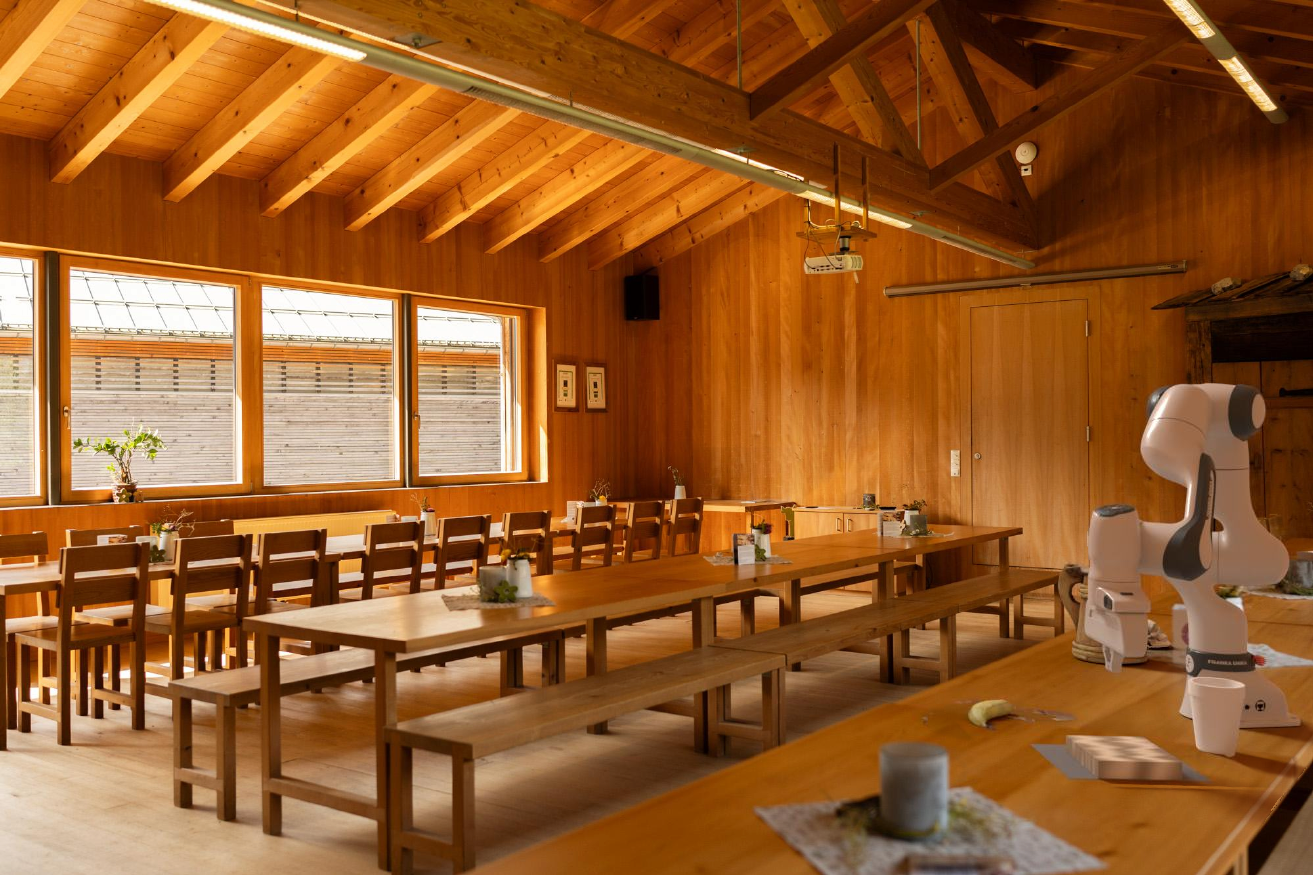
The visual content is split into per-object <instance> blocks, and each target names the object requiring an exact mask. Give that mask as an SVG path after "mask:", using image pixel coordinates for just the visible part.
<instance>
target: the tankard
mask: <svg viewBox="0 0 1313 875" xmlns="http://www.w3.org/2000/svg"><path fill="white" fill-rule="evenodd" d="M1089 571H1090V565H1089V566H1088V565H1082V564H1079V563H1073V562H1071V561H1066V562H1065V563H1064V566H1063V568H1062V570H1061V571H1060V574H1059V576H1058V582H1057V583H1058V585H1057V588H1058V594H1059V597H1060V600H1061V602H1062V604H1063V606H1064V609H1065V610H1066V611H1067V613H1068V615H1069V616H1070V618H1071V620H1072V623H1073V626H1074V628H1075V637H1076V638H1075V639H1074V640H1073V641H1072V647H1071V648H1072V649H1071V653H1072V655H1073V656H1074V658H1076V659H1077V660H1080V661H1084V662H1090V663H1100V664H1105V657H1104V653H1103V644H1101V643H1099V642H1098V641H1096V640H1094V639H1092V638H1090V637H1088V636H1087V635H1086V633H1085V611H1086V603H1087V600H1088V574H1089ZM1077 584H1079V588H1078V590H1077V593H1078V595H1079V596H1080V598H1081V600H1080V602H1079V601H1078V600H1076V598H1075V597H1074V595H1073V588H1074V587H1075V586H1076V585H1077ZM1148 660H1149V657H1148V651H1147V650H1146V652H1145V655H1144V656H1143V657H1126V656H1125V657H1124V659H1123V662H1122V665H1129V664H1130V665H1131V664H1132V665H1133V664H1139V663H1144V662H1147V661H1148Z"/></svg>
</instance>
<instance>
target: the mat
mask: <svg viewBox="0 0 1313 875" xmlns="http://www.w3.org/2000/svg"><path fill="white" fill-rule="evenodd" d="M1029 745H1030V746H1032V748H1034V749H1035V750H1036V751H1037V752H1038V753H1039V754H1040V755H1042V756H1043V757H1044V758H1045V759H1046V760H1047V761H1048V762H1049V763H1051V764H1052V765H1053V766H1054V768H1056V769H1057V770H1058V771H1059V772H1060V773H1061V774H1063V775H1064V776H1065V777H1067V779H1068V780H1069V779H1071V780H1105V781H1106V780H1108V781H1109V780H1110V781H1113V780H1115V781H1153V782H1154V781H1156V782H1194V783H1195V782H1197V783H1200V782H1203V783H1204V782H1205V783H1213V780H1211V779H1209V778H1208V777H1207V776H1205V775H1203V774H1201V773H1200V772H1199V771H1197V770H1195V769H1194V768H1193V767H1191V766H1189V765H1188V764H1186V763H1184V762H1183V761H1182V760H1180V759H1179V758H1178V757H1176V756H1174V755H1172V753H1169V752H1168V751H1166V750H1165V749H1163V748H1162V747H1161V746H1158V747H1159V748H1161V749H1162V750H1164V751H1165V752H1167V753H1168V754H1170V755H1171V756H1173V757H1175V758H1176V759H1178V760H1179V761H1181V762H1182V780H1150V779H1103V778H1097V777H1096V776H1095V775H1093V774H1092V773H1091V772H1090V771H1089V770H1087V769H1086V768H1085V767H1084V766H1083V765H1081V764H1080V763H1079V762H1078V761H1076V760H1075V759H1074V758H1073V757H1072V756H1070V755H1069V754H1068V753H1067V752H1066V744H1049V743H1048V744H1046V743H1045V744H1044V743H1043V744H1041V743H1039V744H1038V743H1030V744H1029Z"/></svg>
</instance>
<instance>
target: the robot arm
mask: <svg viewBox="0 0 1313 875" xmlns="http://www.w3.org/2000/svg"><path fill="white" fill-rule="evenodd" d="M1265 417H1266V404H1265V398H1264V396H1263V393H1261V392H1260V390H1259V389H1258V388H1257V387H1255V386H1251V385H1247V384H1240V383H1239V384H1238V383H1237V384H1236V385H1234V384H1225V383H1215V382H1214V383H1212V382H1211V383H1210V382H1207V383H1201V384H1199V383H1198V384H1197V383H1196V384H1195V383H1194V384H1188V383H1180V384H1175V385H1174V384H1172V385H1165V386H1161V387H1158V388H1156V390H1154V392H1152V393H1151V394H1150V396H1149V398H1148V400H1147V403H1146V419H1147V424H1146V426H1145V429H1144V431H1143V434H1142V437H1141V442H1140V454H1141V456H1142V459H1143V461H1144V463H1145V464H1146V465H1147V467H1149V469H1150V470H1152V471H1153V473H1155V474H1157V475H1158V476H1159V477H1162V478H1164V479H1165V480H1168V481H1171V482H1173V483H1176V484H1179V485H1181V486H1183V487H1184V488H1186V489H1187V490H1186V497H1185V498H1186V499H1185V500H1186V501H1185V510H1184V517H1183V519H1182V520H1181V521H1178V522H1175V523H1166V522H1165V523H1164V522H1150V521H1143V520H1142V519H1140V518H1139V517H1140V516H1139V513H1138V510H1137V508H1136V507H1135V506H1132V505H1128V504H1123V503H1122V504H1119V503H1118V504H1114V503H1113V504H1105V505H1101V506H1098V507H1097V508H1095V509H1093V511H1092V514H1091V518H1090V522H1089V530H1088V544H1087V548H1088V549H1087V555H1088V558H1089V563H1090V565H1089V566H1090V571H1089V574H1088V600H1087V603H1086V611H1085V633H1086V635H1087V636H1088V637H1090V638H1092V639H1094V640H1096V641H1098V642H1099V643H1101V644H1103V653H1104V657H1105V663H1104V665H1105V669H1106V670H1107V671H1109V672H1111V673H1112V674H1121V673H1122V671H1123V670H1122V666H1123V664H1122V662H1123V659H1124V657H1125V656H1126V657H1143V656H1144V655H1145V652H1146V651H1147V649H1148V648H1147V641H1148V620H1149V618H1148V615H1147V613H1148V614H1149V613H1150V612H1151V608H1152V607H1151V601H1150V599H1149V598H1148V597H1147V596H1146V594H1145V593H1144V591H1143V589H1142V582H1141V581H1142V578H1141V575H1140V574H1142V575H1150V576H1159V577H1160V576H1161V577H1162V578H1163V579H1165V580H1166V581H1167V582H1168V583H1170V585H1172V587H1174V589H1175V590H1176V591H1177V592H1178V594H1179V595H1180V597H1181V600H1182V602H1183V604H1184V607H1185V610H1186V614H1187V625H1188V626H1187V628H1188V646H1186V650H1185V652H1186V653H1185V654H1186V655H1185V672H1186V682H1185V683H1186V684H1185V689H1184V694H1183V698H1182V703H1181V704H1180V708H1179V714H1181V715H1182V716H1184V717H1186V718H1189V719H1192V720H1193V717H1192V709H1191V702H1190V694H1189V693H1188V680H1189V679H1190V678H1195V677H1212V678H1222V679H1228V680H1234V681H1237V682H1241V683H1243V684H1244V685H1245V699H1244V701H1243V707H1242V713H1241V720H1240V726H1239V729H1242V728H1243V729H1244V728H1245V729H1247V728H1276V727H1278V728H1279V727H1280V728H1281V727H1299V726H1301V719H1300V717H1298V716H1297V715H1295V714H1294V713H1290V712H1289V708H1288V702H1287V698H1286V695H1285V693H1284V692H1283V691H1282V689H1281V688H1279V687H1278V686H1277V685H1276V684H1275V683H1273V682H1272V681H1270V679H1269V678H1267V677H1265V676H1264V675H1263V674H1261V673H1260V672H1259V671H1258V670H1257V668H1256V665H1258V666H1260V667H1264V666H1265V665H1266V664H1267V659H1266V657H1264V656H1261V655H1260V654H1259V655H1258V654H1256V655H1254V654H1253V653H1251V652H1249V651H1248V627H1249V626H1248V617H1247V615H1246V612H1244V611H1243V609H1242V608H1240V607H1239V606H1238V605H1236V604H1234V603H1232V602H1230V601H1229V600H1227V599H1224V598H1222V597H1221V596H1219V595H1218V594H1217V592H1216V591H1215V589H1214V587H1215V586H1216V585H1228V586H1229V585H1230V586H1243V587H1259V586H1260V587H1261V586H1268V585H1277V584H1279V583H1280V582H1282V580H1283V579H1284V577H1285V576H1286V574H1287V572H1288V571H1289V569H1290V568H1289V567H1290V556H1289V555H1290V554H1289V552H1288V550H1287V548H1286V546H1285V545H1284V544H1283V542H1282V541H1281V540H1280V539H1279V538H1278V537H1276V536H1275V535H1273V534H1272V533H1271V532H1269V531H1268V530H1267V529H1266V528H1265V527H1264V525H1263V524H1262V523H1261V522H1260V521H1259V519H1258V517H1257V516H1256V514H1255V510H1254V509H1253V505H1252V500H1251V499H1252V498H1251V489H1250V454H1249V452H1250V451H1249V443H1248V440H1249V438H1250V437H1252V436H1255V435H1256V434H1257V433H1258V432H1259V431H1260V429H1261V428H1262V427H1263V424H1264V421H1265ZM1214 519H1216V520H1217V521H1218V522H1220V524H1221V525H1222V527H1223V530H1222V531H1213V527H1214V526H1213V525H1214Z"/></svg>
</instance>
